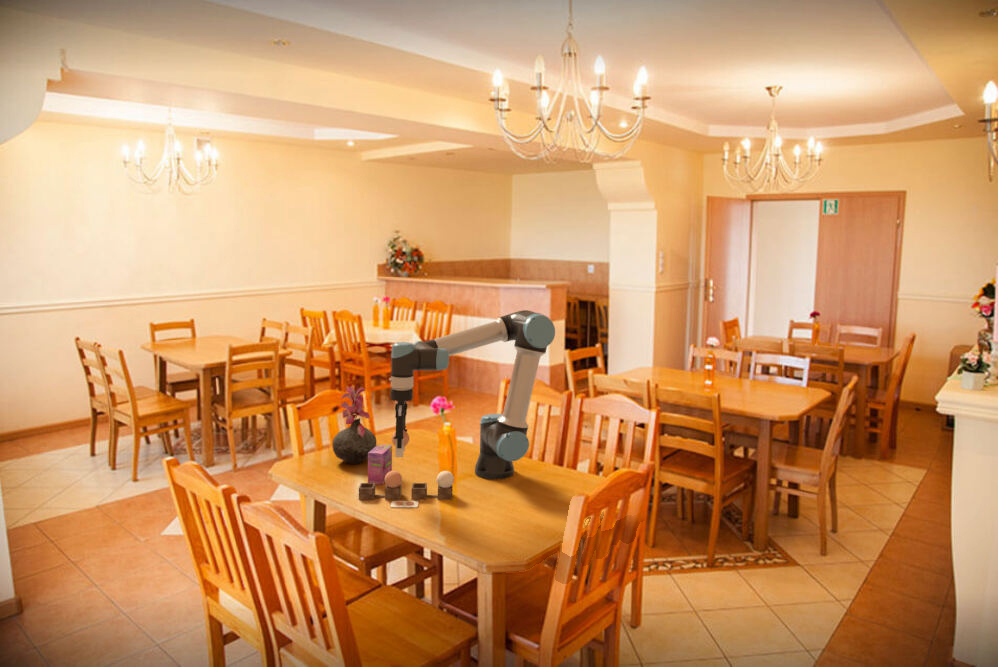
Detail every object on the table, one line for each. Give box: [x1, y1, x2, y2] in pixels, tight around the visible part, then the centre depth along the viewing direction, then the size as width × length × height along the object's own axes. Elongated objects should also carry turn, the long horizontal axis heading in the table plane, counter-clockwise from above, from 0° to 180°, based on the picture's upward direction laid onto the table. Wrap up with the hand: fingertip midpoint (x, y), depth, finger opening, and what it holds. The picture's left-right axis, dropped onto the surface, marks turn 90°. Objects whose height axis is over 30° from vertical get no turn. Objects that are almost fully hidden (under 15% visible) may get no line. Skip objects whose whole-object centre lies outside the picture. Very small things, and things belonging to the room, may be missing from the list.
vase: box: [332, 386, 377, 465], centre depth 260 cm, size 17×17×30 cm
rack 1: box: [358, 482, 402, 501], centre depth 227 cm, size 14×5×4 cm, turn 93°
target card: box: [390, 500, 419, 509], centre depth 221 cm, size 9×5×1 cm, turn 93°
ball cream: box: [436, 470, 455, 488], centre depth 228 cm, size 6×6×6 cm
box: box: [367, 443, 393, 485], centre depth 243 cm, size 10×6×12 cm, turn 168°
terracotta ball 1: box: [391, 430, 410, 447], centre depth 225 cm, size 6×6×6 cm
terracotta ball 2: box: [384, 470, 403, 488], centre depth 227 cm, size 6×6×6 cm
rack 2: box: [411, 482, 453, 501], centre depth 228 cm, size 14×5×4 cm, turn 93°
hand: (400, 453), depth 226 cm, fingers closed on terracotta ball 1, 6 cm apart
